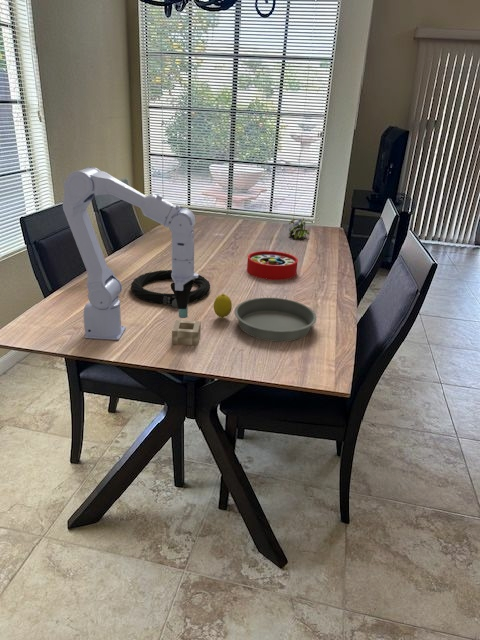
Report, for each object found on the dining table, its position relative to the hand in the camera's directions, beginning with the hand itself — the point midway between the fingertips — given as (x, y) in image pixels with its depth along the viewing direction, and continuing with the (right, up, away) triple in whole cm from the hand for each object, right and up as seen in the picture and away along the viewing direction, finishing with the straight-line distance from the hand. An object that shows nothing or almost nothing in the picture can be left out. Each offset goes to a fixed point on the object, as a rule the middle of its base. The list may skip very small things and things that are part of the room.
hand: (183, 306), depth 124 cm
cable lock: (-9, +6, +37) cm, 39 cm away
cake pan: (+26, -6, +16) cm, 31 cm away
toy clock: (+28, +16, +63) cm, 71 cm away
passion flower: (+46, +39, +117) cm, 132 cm away
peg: (0, -3, +1) cm, 3 cm away
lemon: (+10, -3, +19) cm, 21 cm away
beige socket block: (0, -9, +5) cm, 10 cm away
